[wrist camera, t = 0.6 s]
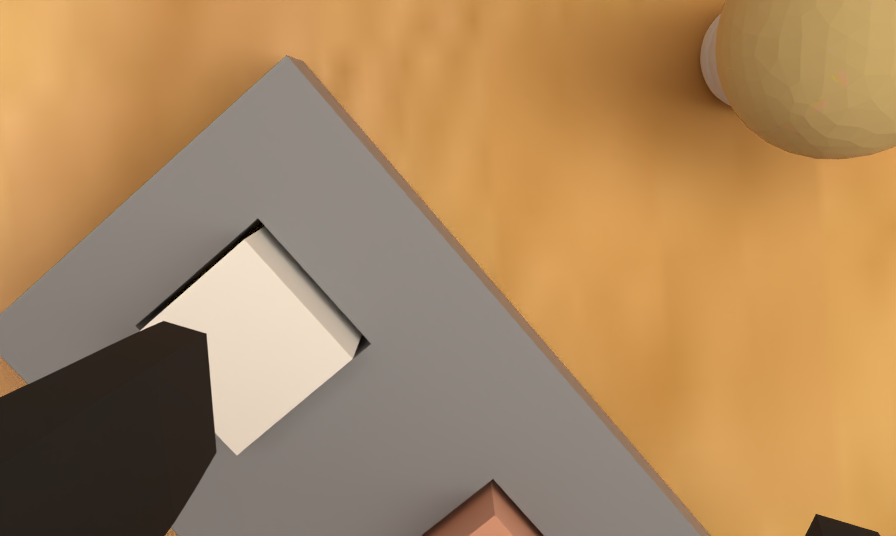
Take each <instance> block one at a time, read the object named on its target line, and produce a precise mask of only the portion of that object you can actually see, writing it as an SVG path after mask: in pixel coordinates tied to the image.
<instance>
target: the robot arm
mask: <svg viewBox="0 0 896 536" xmlns="http://www.w3.org/2000/svg"><path fill="white" fill-rule="evenodd" d="M216 453H217V451H216V439H215V427H214V415H213V404H212V392H211V380H210V368H209V357H208V345H207V334H206V333H203V332H200V331H196V330H193V329H189V328H186V327H183V326H179V325H176V324H173V323H169V322H166V321H162V322H160V323H157V324H155V325H153V326H150V327H148V328H146V329H143V330H141V331H139V332H137V333H135V334H133V335H130V336H128V337H126V338H124V339H122V340H120V341H118V342H116V343H113V344H111V345H109V346H107V347H105V348H103V349H101V350H99V351H97V352H95V353H93V354H91V355H88V356H86V357H84V358H82V359H80V360H78V361H76V362H74V363H72V364H70V365H68V366H66V367H64V368H62V369H59V370H57V371H55V372H53V373H51V374H49V375H47V376H45V377H43V378H40V379H38V380H36V381H34V382H32V383H30V384H28V385H26V386H23V387H21V388H19V389H17V390H15V391H13V392H11V393H9V394H6V395H4V396H2V397H0V536H165V534H166V533H167V532H168V530H169V529H170V528H171V527H172V525H173V524H174V523H175V521H176V519H177V518H178V516H179V515H180V513H181V511H182V510H183V508H184V507H185V505H186V503H187V502H188V500H189V499H190V497H191V495H192V494H193V492H194V491H195V489H196V487H197V485H198V484H199V482H200V480H201V478H202V477H203V475H204V473H205V472H206V470H207V468H208V466H209V465H210V463H211V461H212V460H213V458H214V456H215V454H216ZM805 536H880V535H879V533H878V532H875V531H872V530H868V529H865V528H862V527H858V526H855V525H852V524H848V523H845V522H841V521H838V520H835V519H831V518H828V517H825V516H821V515H818V514H816V515H815V517H814V519H813V521H812V523H811V525H810V527H809V529H808V531H807V533H806V535H805Z"/></svg>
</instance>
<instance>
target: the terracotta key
mask: <svg viewBox="0 0 896 536" xmlns="http://www.w3.org/2000/svg"><path fill="white" fill-rule="evenodd" d="M421 536H544V535H543V534H542V533H541V532H540V531H539V529H538V528H537V527H536V526H535V525H534V524H533V523H532V522H531V521H530V519H529V518H528V517H527V516H526V515H525V514H524V513H523V512H522V511H521V509H520V508H519V507H518V506H517V505H516V504H515V503H514V502H513V501H512V499H511V498H510V497H509V496H508V495H507V494H506V493H505V492H504V491H503V489H502V488H501V487H500V486H499V485H498V484H497V483H496V482H495V481H494V479H492V480H491V481H490V482H489V483H487V484H486V485H485V486H483V487H482V488H481V489H480V490H478V491H477V492H476V493H475V494H473V495H472V496H471V497H470V498H468V499H467V500H466V501H464V502H463V503H462V504H461V505H459V506H458V507H457V508H456V509H454V510H453V511H452V512H451V513H449V514H448V515H447V516H445V517H444V518H443V519H442V520H440V521H439V522H438V523H437V524H435V525H434V526H433V527H432V528H430V529H429V530H428V531H426V532H425V533H424V534H423V535H421Z"/></svg>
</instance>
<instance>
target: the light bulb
mask: <svg viewBox="0 0 896 536" xmlns="http://www.w3.org/2000/svg"><path fill="white" fill-rule="evenodd" d="M700 62H701V70H702V73H703V77H704V79H705V82H706V84H707V86H708V87H709V89H710V90H711V92H712V93H713V94H714V95H715V96H716V97H717V98H718V99H720V100H721V101H722V102H724V103H726V104H727V105H729V106H731V107H732V108H733V110H734V111H735V113H736V114H737V115H738V117H739V118H740V119H741V120H742V121H743V122H744V123H745V124H746V126H747V127H748V128H749V129H750V130H752V131H753V132H754V133H756V134H757V135H758V136H760V137H761V138H762V139H764V140H765V141H766V142H768V143H770V144H772V145H774V146H776V147H779V148H781V149H783V150H785V151H787V152H790V153H794V154H798V155H802V156H807V157H811V158H816V159H848V158H854V157H860V156H867V155H872V154H875V153H878V152H881V151H884V150H887V149H889V148H892V147H895V146H896V0H726V1H725V4H724V6H723V9H722V12H721V13H720V14H719V15H718V17H717V18H716V19H715V20H714V21H713V22H712V23H711V25H710V27H709V28H708V30H707V32H706V34H705V36H704V39H703V43H702V46H701V53H700Z"/></svg>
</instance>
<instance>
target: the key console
mask: <svg viewBox="0 0 896 536" xmlns="http://www.w3.org/2000/svg"><path fill="white" fill-rule="evenodd" d="M259 222H262V223H263V224H264V225H265V227H266V228H267V229H268V230H269V231H270V232H271V233H272V234H273V235H274V237H275V238H276V239H277V240H278V241H279V242H280V243H281V244H282V245H283V247H284V248H285V249H286V250H287V251H288V252H289V253H290V254H291V255H292V257H293V258H294V259H295V260H296V261H297V262H298V263H299V264H300V265H301V267H302V268H303V269H304V270H305V271H306V272H307V273H308V274H309V275H310V276H311V278H312V279H313V280H314V281H315V282H316V283H317V284H318V285H319V286H320V288H321V289H322V290H323V291H324V292H325V293H326V294H327V295H328V296H329V298H330V299H331V300H332V301H333V302H334V303H335V304H336V305H337V306H338V308H339V309H340V310H341V311H342V312H343V313H344V314H345V315H346V316H347V318H348V319H349V320H350V321H351V322H352V323H353V324H354V325H355V326H356V328H357V329H358V330H359V331H360V332H361V333H362V334H363V335H362V336H361V338H360V341H359V344H358V346H357V349H356V352H355V354H354V357H353V359H352V360H351V361H350V362H348V363H347V364H346V365H345V366H344V367H342V368H341V369H340V370H339V371H338V372H336V373H335V374H334V375H333V376H332V377H330V378H329V379H328V380H327V381H326V382H324V383H323V384H322V385H321V386H320V387H318V388H317V389H316V390H315V391H314V392H312V393H311V394H310V395H309V396H308V397H306V398H305V399H304V400H303V401H302V402H300V403H299V404H298V405H297V406H296V407H294V408H293V409H292V410H291V411H290V412H288V413H287V414H286V415H285V416H284V417H282V418H281V419H280V420H279V421H278V422H276V423H275V424H274V425H273V426H272V427H270V428H269V429H268V430H267V431H266V432H264V433H263V434H262V435H261V436H260V437H259V438H257V439H256V440H255V441H254V442H253V443H251V444H250V445H249V446H248V447H247V448H245V449H244V450H243V451H242V452H241V453H239V454H238V455H236V454H235V453H234V452H233V451H232V450H231V449H230V448H229V447H228V446H227V445H226V444H225V443H224V442H223V441H222V440H221V439H220V438H219V437H218V436H217V434H216V433H215V439H216V451H217V453H216V454H215V456H214V458H213V460H212V461H211V463H210V465H209V466H208V468H207V470H206V472H205V473H204V475H203V477H202V478H201V480H200V482H199V484H198V485H197V487H196V489H195V491H194V492H193V494H192V495H191V497H190V499H189V500H188V502H187V503H186V505H185V507H184V508H183V510H182V511H181V513H180V515H179V516H178V518H177V519H176V521H175V523H174V524H173V525H172V527H171V528H172V529H173V530H174V531H175V532H176V533H177V535H178V536H421V535H423V534H424V533H425V532H426V531H428V530H429V529H430V528H432V527H433V526H434V525H435V524H437V523H438V522H439V521H440V520H442V519H443V518H444V517H445V516H447V515H448V514H449V513H451V512H452V511H453V510H454V509H456V508H457V507H458V506H459V505H461V504H462V503H463V502H464V501H466V500H467V499H468V498H470V497H471V496H472V495H473V494H475V493H476V492H477V491H478V490H480V489H481V488H482V487H483V486H485V485H486V484H487V483H489V482H490V481H491V480H492V479H494V481H495V482H496V483H497V484H498V485H499V486H500V487H501V488H502V489H503V491H504V492H505V493H506V494H507V495H508V496H509V497H510V498H511V499H512V501H513V502H514V503H515V504H516V505H517V506H518V507H519V508H520V509H521V511H522V512H523V513H524V514H525V515H526V516H527V517H528V518H529V519H530V521H531V522H532V523H533V524H534V525H535V526H536V527H537V528H538V529H539V531H540V532H541V533H542V534H543V535H544V536H710V534H709V533H708V532H707V531H706V530H705V529H704V527H703V526H702V525H701V524H700V523H699V522H698V520H697V519H696V518H695V517H694V516H693V515H692V513H691V512H690V511H689V510H688V509H687V508H686V506H685V505H684V504H683V503H682V502H681V501H680V499H679V498H678V497H677V496H676V495H675V494H674V492H673V491H672V490H671V489H670V488H669V487H668V485H667V484H666V483H665V482H664V481H663V480H662V478H661V477H660V476H659V475H658V474H657V473H656V472H655V470H654V469H653V468H652V467H651V466H650V465H649V463H648V462H647V461H646V460H645V459H644V458H643V456H642V455H641V454H640V453H639V452H638V451H637V449H636V448H635V447H634V446H633V445H632V444H631V442H630V441H629V440H628V439H627V438H626V437H625V435H624V434H623V433H622V432H621V431H620V430H619V428H618V427H617V426H616V425H615V424H614V423H613V421H612V420H611V419H610V418H609V417H608V416H607V415H606V413H605V412H604V411H603V410H602V409H601V408H600V406H599V405H598V404H597V403H596V402H595V401H594V399H593V398H592V397H591V396H590V395H589V394H588V392H587V391H586V390H585V389H584V388H583V387H582V385H581V384H580V383H579V382H578V381H577V380H576V378H575V377H574V376H573V375H572V374H571V373H570V371H569V370H568V369H567V368H566V367H565V366H564V364H563V363H562V362H561V361H560V360H559V359H558V357H557V356H556V355H555V354H554V353H553V352H552V351H551V349H550V348H549V347H548V346H547V345H546V344H545V342H544V341H543V340H542V339H541V338H540V337H539V335H538V334H537V333H536V332H535V331H534V330H533V328H532V327H531V326H530V325H529V324H528V323H527V321H526V320H525V319H524V318H523V317H522V316H521V314H520V313H519V312H518V311H517V310H516V309H515V307H514V306H513V305H512V304H511V303H510V302H509V300H508V299H507V298H506V297H505V296H504V295H503V293H502V292H501V291H500V290H499V289H498V288H497V287H496V285H495V284H494V283H493V282H492V281H491V280H490V278H489V277H488V276H487V275H486V274H485V273H484V271H483V270H482V269H481V268H480V267H479V266H478V264H477V263H476V262H475V261H474V260H473V259H472V257H471V256H470V255H469V254H468V253H467V252H466V250H465V249H464V248H463V247H462V246H461V245H460V243H459V242H458V241H457V240H456V239H455V238H454V236H453V235H452V234H451V233H450V232H449V231H448V229H447V228H446V227H445V226H444V225H443V224H442V223H441V221H440V220H439V219H438V218H437V217H436V216H435V214H434V213H433V212H432V211H431V210H430V209H429V207H428V206H427V205H426V204H425V203H424V202H423V200H422V199H421V198H420V197H419V196H418V195H417V193H416V192H415V191H414V190H413V189H412V188H411V186H410V185H409V184H408V183H407V182H406V181H405V179H404V178H403V177H402V176H401V175H400V174H399V172H398V171H397V170H396V169H395V168H394V167H393V166H392V164H391V163H390V162H389V161H388V160H387V159H386V157H385V156H384V155H383V154H382V153H381V152H380V150H379V149H378V148H377V147H376V146H375V145H374V143H373V142H372V141H371V140H370V139H369V138H368V136H367V135H366V134H365V133H364V132H363V131H362V129H361V128H360V127H359V126H358V125H357V124H356V122H355V121H354V120H353V119H352V118H351V117H350V115H349V114H348V113H347V112H346V111H345V110H344V108H343V107H342V106H341V105H340V104H339V103H338V102H337V100H336V99H335V98H334V97H333V96H332V95H331V93H330V92H329V91H328V90H327V89H326V88H325V86H324V85H323V84H322V83H321V82H320V81H319V79H318V78H317V77H316V76H315V75H314V74H313V72H312V71H311V70H310V69H309V68H308V67H307V65H306V64H305V63H304V62H303V61H301V60H298V59H295V58H293V57H290V56H287V55H286V56H285V57H284V58H283V59H282V60H281V61H280V62H279V63H277V64H276V65H275V66H274V67H273V68H272V69H271V70H270V71H269V72H268V73H266V74H265V75H264V76H263V77H262V78H261V79H260V80H259V81H258V82H256V83H255V84H254V85H253V86H252V87H251V88H250V89H249V90H248V91H247V92H245V93H244V94H243V95H242V96H241V97H240V98H239V99H238V100H237V101H235V102H234V103H233V104H232V105H231V106H230V107H229V108H228V109H227V110H226V111H224V112H223V113H222V114H221V115H220V116H219V117H218V118H217V119H216V120H215V121H213V122H212V123H211V124H210V125H209V126H208V127H207V128H206V129H205V130H203V131H202V132H201V133H200V134H199V135H198V136H197V137H196V138H195V139H194V140H192V141H191V142H190V143H189V144H188V145H187V146H186V147H185V148H184V149H182V150H181V151H180V152H179V153H178V154H177V155H176V156H175V157H174V158H173V159H171V160H170V161H169V162H168V163H167V164H166V165H165V166H164V167H163V168H161V169H160V170H159V171H158V172H157V173H156V174H155V175H154V176H153V177H152V178H150V179H149V180H148V181H147V182H146V183H145V184H144V185H143V186H142V187H141V188H139V189H138V190H137V191H136V192H135V193H134V194H133V195H132V196H131V197H129V198H128V199H127V200H126V201H125V202H124V203H123V204H122V205H121V206H120V207H118V208H117V209H116V210H115V211H114V212H113V213H112V214H111V215H110V216H108V217H107V218H106V219H105V220H104V221H103V222H102V223H101V224H100V225H99V226H97V227H96V228H95V229H94V230H93V231H92V232H91V233H90V234H89V235H88V236H86V237H85V238H84V239H83V240H82V241H81V242H80V243H79V244H78V245H76V246H75V247H74V248H73V249H72V250H71V251H70V252H69V253H68V254H67V255H65V256H64V257H63V258H62V259H61V260H60V261H59V262H58V263H57V264H55V265H54V266H53V267H52V268H51V269H50V270H49V271H48V272H47V273H46V274H44V275H43V276H42V277H41V278H40V279H39V280H38V281H37V282H36V283H34V284H33V285H32V286H31V287H30V288H29V289H28V290H27V291H26V292H25V293H23V294H22V295H21V296H20V297H19V298H18V299H17V300H16V301H15V302H14V303H12V304H11V305H10V306H9V307H8V308H7V309H6V310H5V311H4V312H2V313H1V314H0V356H1V357H2V358H3V359H4V360H5V361H6V362H7V363H8V364H9V365H10V366H11V367H12V368H13V369H14V370H15V371H16V372H17V374H18V375H19V376H20V377H21V378H22V379H23V380H24V381H25V382H26V383H27V384H30V383H32V382H34V381H36V380H38V379H40V378H43V377H45V376H47V375H49V374H51V373H53V372H55V371H57V370H59V369H62V368H64V367H66V366H68V365H70V364H72V363H74V362H76V361H78V360H80V359H82V358H84V357H86V356H88V355H91V354H93V353H95V352H97V351H99V350H101V349H103V348H105V347H107V346H109V345H111V344H113V343H116V342H118V341H120V340H122V339H124V338H126V337H128V336H130V335H133V334H135V333H137V332H139V331H140V330H141V329H142V328H144V327H145V326H146V325H147V324H148V323H149V322H150V321H152V320H153V319H154V318H155V317H156V316H157V315H158V314H160V313H161V312H162V311H163V310H164V309H165V308H166V307H167V306H166V304H167V303H168V302H169V301H170V300H172V299H173V298H174V297H175V296H176V295H177V294H178V293H180V292H181V291H182V290H183V289H184V288H185V287H186V286H188V285H189V284H190V283H191V282H192V281H193V280H194V279H196V278H197V277H198V276H199V275H200V274H201V273H202V272H204V271H205V270H206V269H207V268H208V267H209V266H210V265H212V264H213V263H214V262H215V261H216V260H217V259H218V258H220V257H221V256H222V255H223V254H224V253H225V252H226V251H227V250H229V249H230V248H231V247H232V246H233V245H234V244H235V243H237V242H238V241H239V240H240V239H241V238H242V237H243V236H245V235H246V234H247V233H248V232H249V231H250V230H251V229H253V228H254V227H255V226H256V225H257V224H258V223H259Z"/></svg>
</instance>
